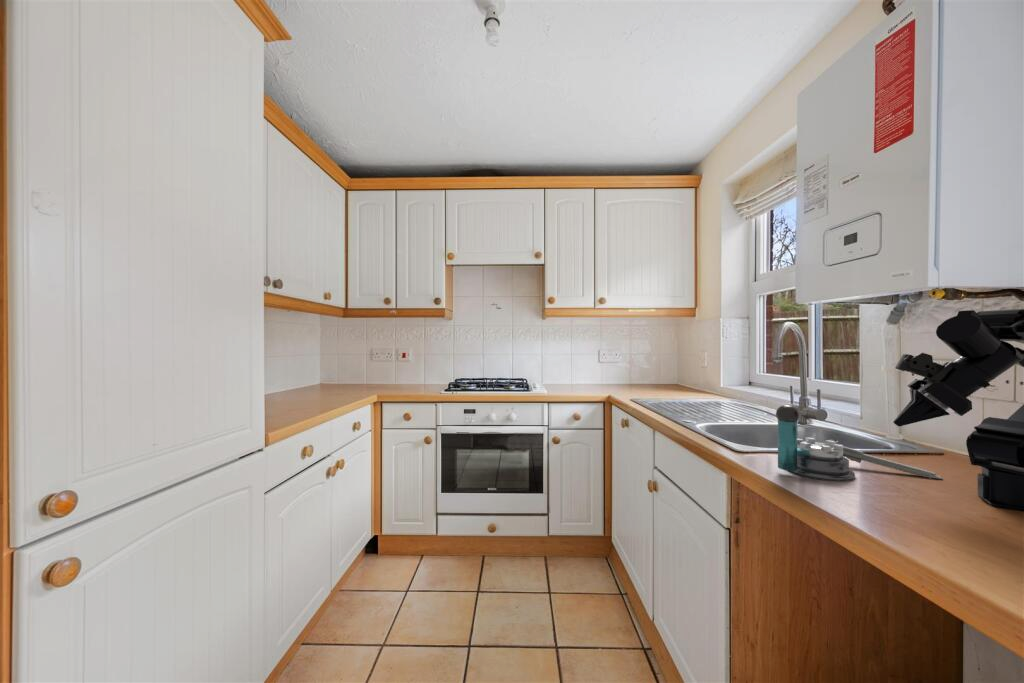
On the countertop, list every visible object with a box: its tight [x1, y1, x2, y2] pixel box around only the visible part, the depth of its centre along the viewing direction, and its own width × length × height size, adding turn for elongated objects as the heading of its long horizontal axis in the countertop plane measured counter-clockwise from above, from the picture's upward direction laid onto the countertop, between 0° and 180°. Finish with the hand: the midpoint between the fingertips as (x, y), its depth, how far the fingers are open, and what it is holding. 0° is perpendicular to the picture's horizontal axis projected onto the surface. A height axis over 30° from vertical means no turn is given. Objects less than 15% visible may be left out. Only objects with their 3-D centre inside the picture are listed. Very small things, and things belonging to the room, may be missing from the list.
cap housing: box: [789, 455, 856, 482], centre depth 93 cm, size 13×13×4 cm
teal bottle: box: [775, 404, 844, 472], centre depth 92 cm, size 9×16×14 cm, turn 106°
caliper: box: [830, 438, 944, 480], centre depth 94 cm, size 20×1×6 cm, turn 54°
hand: (895, 424), depth 80 cm, fingers closed
